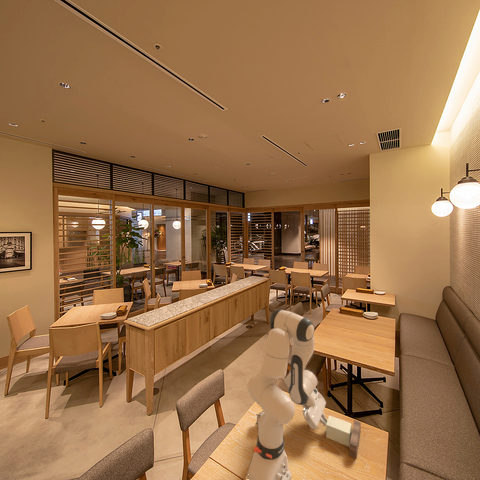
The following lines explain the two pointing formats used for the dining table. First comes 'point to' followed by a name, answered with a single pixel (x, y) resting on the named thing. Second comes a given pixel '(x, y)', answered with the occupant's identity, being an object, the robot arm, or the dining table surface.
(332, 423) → the cream rectangular block
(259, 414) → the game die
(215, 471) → the dining table surface
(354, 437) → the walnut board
